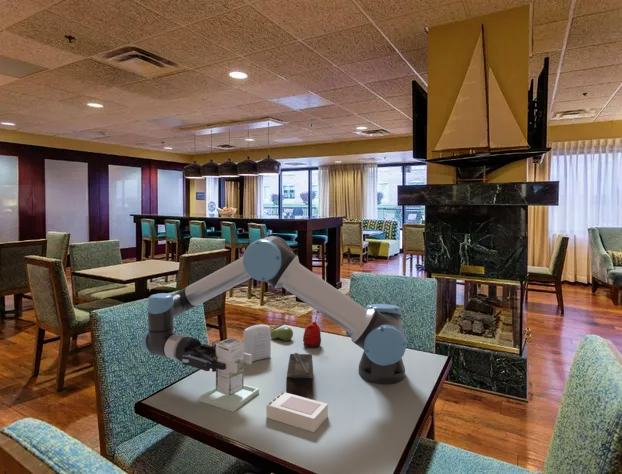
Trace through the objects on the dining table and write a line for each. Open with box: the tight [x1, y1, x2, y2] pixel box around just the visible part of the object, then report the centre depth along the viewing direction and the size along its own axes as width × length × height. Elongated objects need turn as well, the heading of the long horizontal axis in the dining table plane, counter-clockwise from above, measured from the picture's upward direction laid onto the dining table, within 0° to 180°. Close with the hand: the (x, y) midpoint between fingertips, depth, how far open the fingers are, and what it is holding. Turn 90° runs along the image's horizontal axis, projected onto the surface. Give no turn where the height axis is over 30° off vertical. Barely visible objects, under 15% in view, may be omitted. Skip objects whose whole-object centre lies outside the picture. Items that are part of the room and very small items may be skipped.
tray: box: [198, 383, 260, 413], centre depth 113 cm, size 12×12×1 cm
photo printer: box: [242, 323, 272, 362], centre depth 140 cm, size 10×4×12 cm, turn 123°
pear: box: [271, 326, 294, 342], centre depth 161 cm, size 6×5×10 cm
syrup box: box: [215, 337, 245, 396], centre depth 112 cm, size 6×6×14 cm
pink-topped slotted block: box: [265, 391, 329, 433], centre depth 102 cm, size 14×8×4 cm, turn 62°
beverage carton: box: [285, 352, 314, 399], centre depth 122 cm, size 8×19×7 cm, turn 0°
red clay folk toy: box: [302, 310, 322, 348], centre depth 153 cm, size 8×7×15 cm
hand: (244, 363), depth 109 cm, fingers closed on syrup box, 6 cm apart
